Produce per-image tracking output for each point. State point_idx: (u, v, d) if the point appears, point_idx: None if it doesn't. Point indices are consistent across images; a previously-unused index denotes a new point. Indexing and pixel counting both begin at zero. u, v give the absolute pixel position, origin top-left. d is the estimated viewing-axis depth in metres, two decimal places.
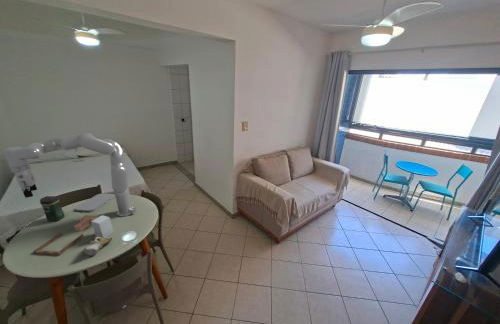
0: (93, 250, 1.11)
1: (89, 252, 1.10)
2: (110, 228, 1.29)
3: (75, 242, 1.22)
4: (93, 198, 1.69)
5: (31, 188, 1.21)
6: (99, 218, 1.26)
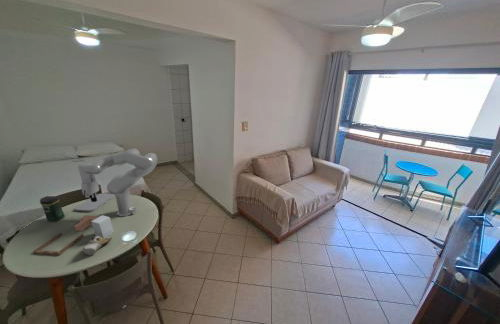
0: (91, 250, 1.12)
1: (87, 251, 1.11)
2: (110, 228, 1.29)
3: (75, 242, 1.22)
4: None
5: None
6: (99, 218, 1.26)
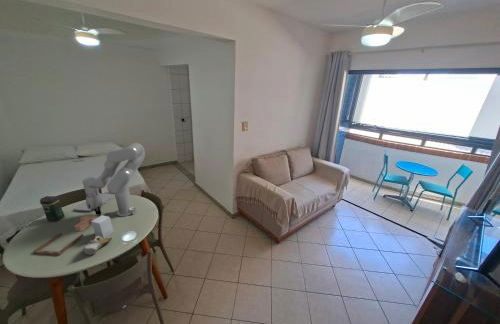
0: (92, 250, 1.12)
1: (88, 251, 1.11)
2: (110, 228, 1.29)
3: (75, 242, 1.22)
4: None
5: None
6: (99, 218, 1.26)
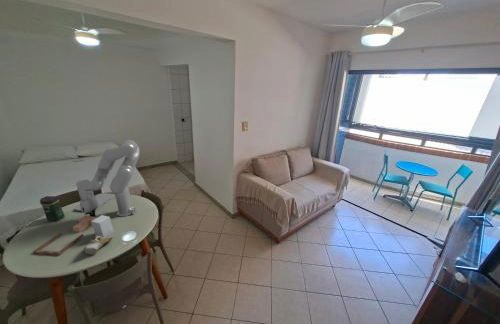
0: (93, 249, 1.12)
1: (89, 251, 1.11)
2: (110, 228, 1.29)
3: (75, 242, 1.22)
4: None
5: None
6: (99, 218, 1.26)
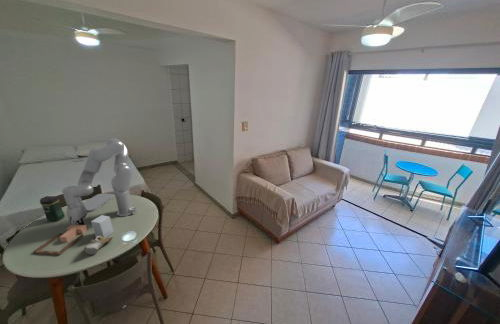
0: (93, 249, 1.12)
1: (89, 251, 1.11)
2: (110, 227, 1.29)
3: (75, 242, 1.22)
4: (93, 198, 1.69)
5: None
6: (99, 218, 1.26)
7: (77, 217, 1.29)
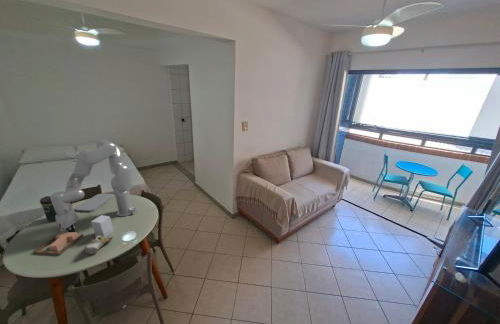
0: (93, 249, 1.12)
1: (90, 251, 1.11)
2: (110, 227, 1.30)
3: (75, 242, 1.22)
4: (93, 198, 1.69)
5: None
6: (99, 218, 1.26)
7: (67, 224, 1.22)
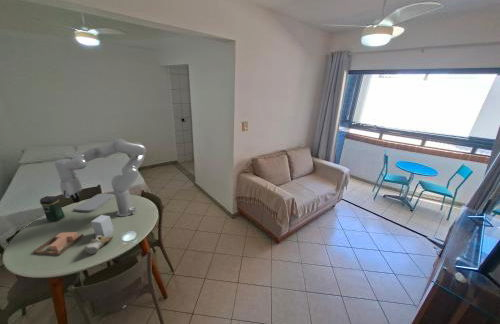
0: (93, 249, 1.13)
1: (90, 250, 1.12)
2: (110, 227, 1.30)
3: (75, 242, 1.22)
4: (93, 198, 1.69)
5: None
6: (99, 218, 1.26)
7: (71, 191, 1.25)
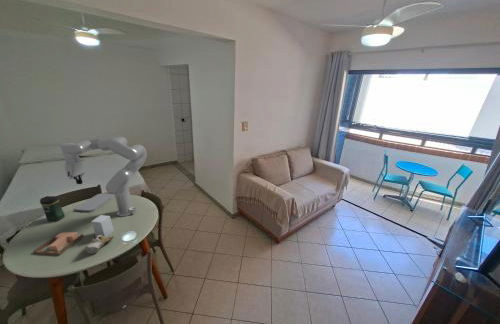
0: (94, 248, 1.13)
1: (90, 250, 1.12)
2: (111, 227, 1.30)
3: (75, 242, 1.22)
4: (93, 198, 1.69)
5: None
6: (99, 218, 1.26)
7: (75, 173, 1.34)
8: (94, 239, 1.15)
